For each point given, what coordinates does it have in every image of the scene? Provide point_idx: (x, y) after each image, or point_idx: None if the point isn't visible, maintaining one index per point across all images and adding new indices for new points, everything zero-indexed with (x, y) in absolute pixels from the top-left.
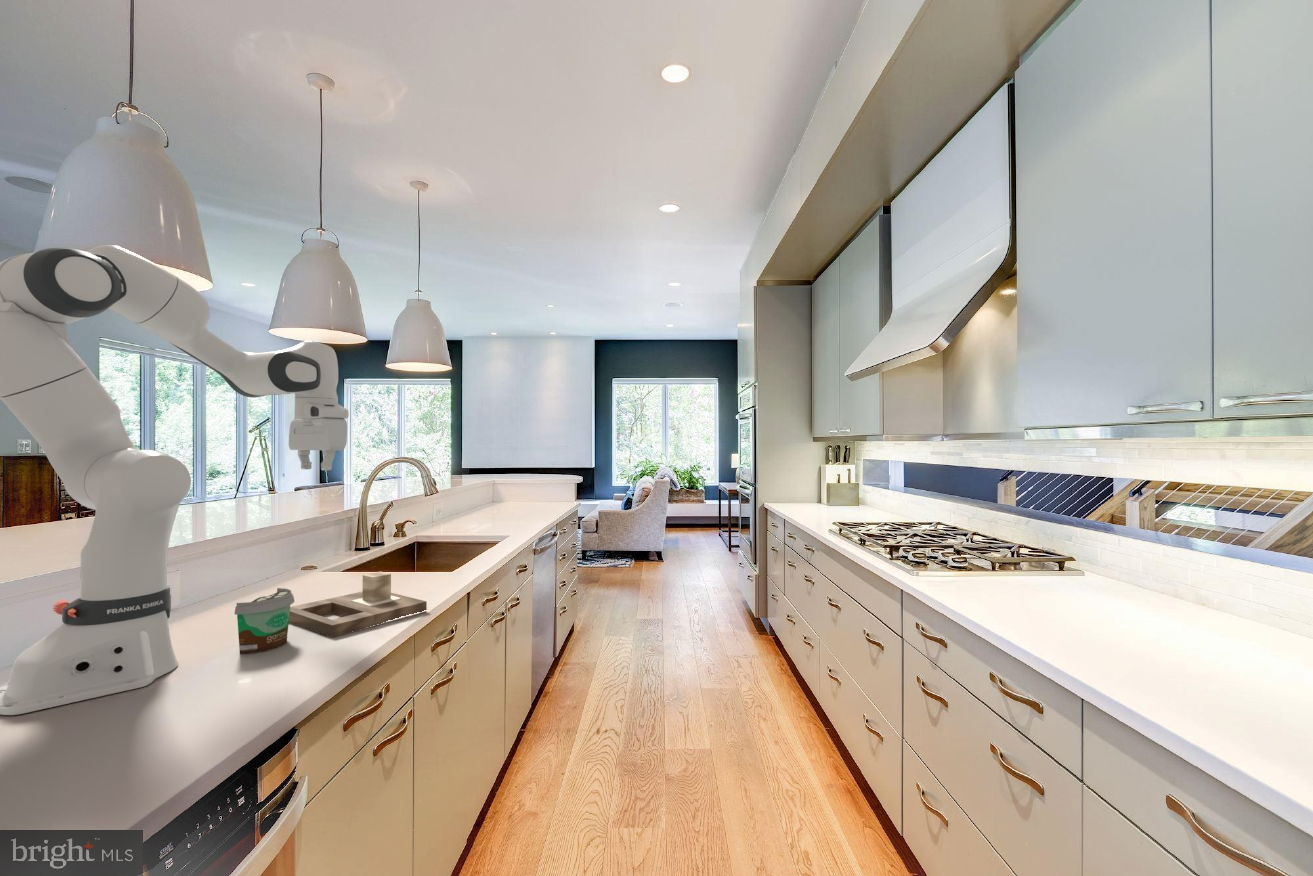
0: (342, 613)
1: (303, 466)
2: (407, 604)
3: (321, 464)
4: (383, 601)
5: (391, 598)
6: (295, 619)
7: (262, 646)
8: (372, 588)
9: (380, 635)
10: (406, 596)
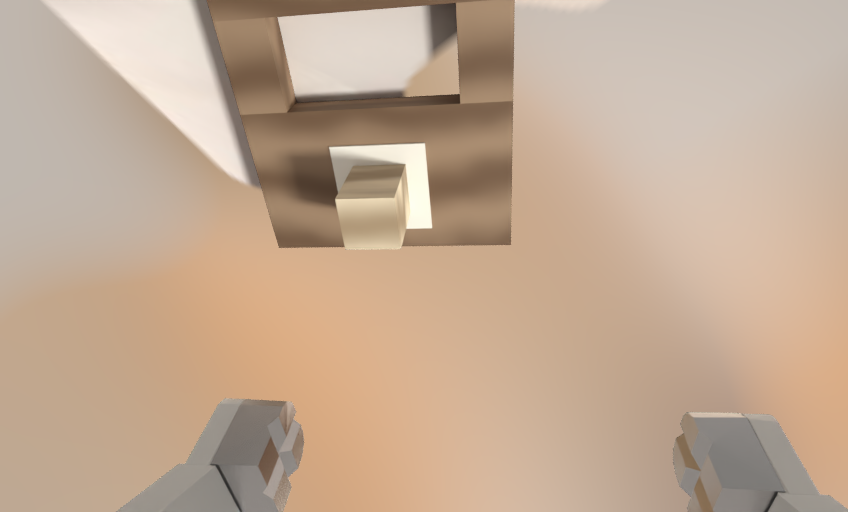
0: (402, 99)
1: (711, 434)
2: (282, 209)
3: (250, 445)
4: None
5: None
6: None
7: None
8: (346, 183)
9: (166, 78)
10: None
